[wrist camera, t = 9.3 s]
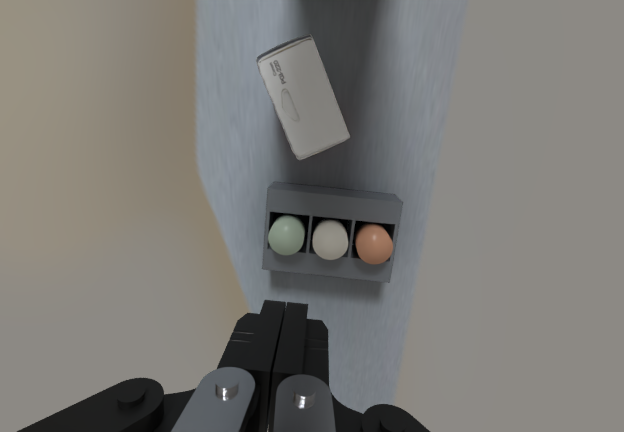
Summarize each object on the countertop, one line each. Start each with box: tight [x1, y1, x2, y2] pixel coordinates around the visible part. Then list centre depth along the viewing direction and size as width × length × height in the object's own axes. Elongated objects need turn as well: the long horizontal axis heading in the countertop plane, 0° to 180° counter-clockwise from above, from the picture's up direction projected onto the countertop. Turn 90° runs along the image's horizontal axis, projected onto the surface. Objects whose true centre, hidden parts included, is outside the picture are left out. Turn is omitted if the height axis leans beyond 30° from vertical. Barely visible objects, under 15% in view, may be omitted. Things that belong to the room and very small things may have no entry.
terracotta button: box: [355, 223, 393, 264], centre depth 37 cm, size 4×4×3 cm
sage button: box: [268, 214, 305, 255], centre depth 37 cm, size 4×4×3 cm
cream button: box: [313, 218, 348, 260], centre depth 37 cm, size 4×4×3 cm
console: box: [262, 182, 403, 283], centre depth 40 cm, size 9×14×4 cm, turn 84°
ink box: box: [256, 34, 350, 160], centre depth 33 cm, size 9×5×12 cm, turn 23°
